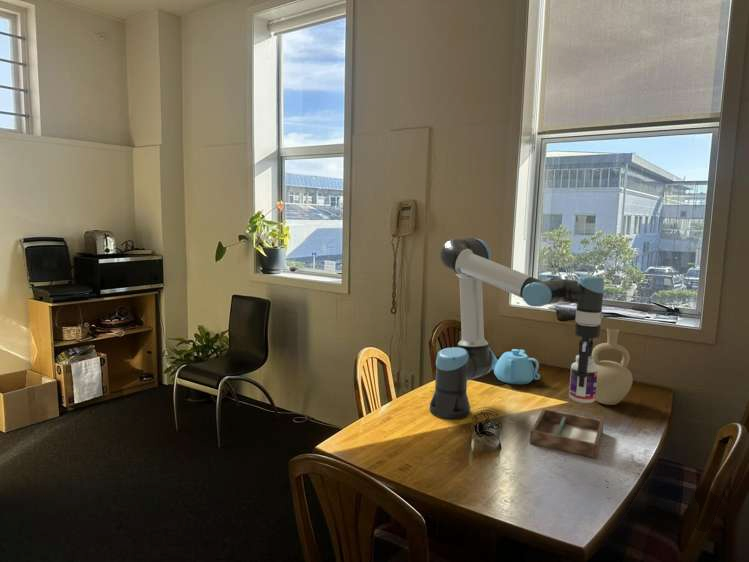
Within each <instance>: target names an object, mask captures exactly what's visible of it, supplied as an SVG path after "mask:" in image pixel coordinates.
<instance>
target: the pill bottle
mask: <svg viewBox="0 0 749 562" xmlns="http://www.w3.org/2000/svg"><path fill="white" fill-rule="evenodd" d="M578 363H579V354H577V355H576V356H575V361H574V362H572V364H571V366H570V379H569V391H568V396H569V398H570V399H571V400H573V401H574V402H576V403H581V404H582V403H583V404H591V403H593V402H596V400H595V397H596V384H597V372H598V368H597V366H596V365H594V364H593V363H594V357H592V355H591V356H589V358H588V367H587V376H586V377H587V383H586V395H585V397H582V396H577V395H576V391H577V378H578V376H575V374H577V373H578ZM581 373H583V372H581Z"/></svg>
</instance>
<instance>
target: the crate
mask: <svg viewBox="0 0 749 562" xmlns="http://www.w3.org/2000/svg"><path fill="white" fill-rule="evenodd" d="M604 422H605V420H603V419H598V418H593V417H587V416H584V415H583V416H582V415H578V414H573V413H568V412H562V411H558V410H554V409H548V408H543V409H542V410H541V412H540V415H539V416H538V417H537V419H536V421H535V423H534V425H532V428H531V429H530V438H529V444H530V445H533V446H537V447H538V446H539V447H542V448H547V449H550V450H551V449H552V450H556V451H560V452H565V453H568V454H572V455H576V456H582V457H585V458H590V459H593V460H594V459H595V460H597V459H598V454H599V451H600V447H601V443H602V442H601V441H602V437H603V434H604V432H603V431H604Z"/></svg>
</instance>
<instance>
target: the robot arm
mask: <svg viewBox="0 0 749 562" xmlns="http://www.w3.org/2000/svg"><path fill="white" fill-rule="evenodd" d="M491 257H492V254H491V250H490V247H489V245H488V244H487V243H486V242H485V241H484V240H482V239H479V238H475V237H473V238H472V237H470V238H452V239H449V240H447V241H446V242H444V243H443V244H442V246H441V248H440V251H439V260H440V262H441V264H442V266H444V268H446V269H447V270H449V271H452V272H454V274H455V276H456V277H458V279H459V280H458V281H459V299H460V300H459V301H460V302H459V303H460V324H461V325H460V326H461V329H460V330H461V340H459V341H458V343H457V347H456V346H452V347H446V348H443V349H441V350H439V351H438V352H437V355H436V358H435V359H436V360H435V379H434V380H435V384H434V392H433V394H432V398H431V400H430V403H429V412H430V414H433V415H434V416H435V417H438V418H442V419H448V420H459V419H465V418H467V417H469V416H470V415H471V404H470V399H469V397H468V394H467V388H468V387H467V386H468V381H471V380H474V379H477V378H481V377H484V376H486V375H487V374H488V373H490V372H491V371H493V369H492V368H493V366H494V362H495V358H494V355H495V354H493V353H494V352H493V351H492V349H491V348H490V347H489V342H488V341H487V339H485V331H484V330H485V326H484V301H483V297H484V295H483V283H486V284H489V285H490V286H494V287H495V288H498V289H500V290H503V291H505V292H508V293H509V294H512V295H514V296H517V297H519V298H521V299H522V300H524V302H525V303H526V304H527V305H528V306H529V307H538V308H539V307H543V306H547V305H551V304H556V303H561V302H562V303H570V304H575V305H576V310H575V320H574V321H575V322H576V323H575V324H574V325H575V326H574V334H575V335H576V336H577V337H581V339H579V343H578V346H579V347H578V349H579V350H578V355H579V363H578V373H577V374H575V376H578V378H577V391H576V395H577V396H582V397H585V395H586V383H587V377H586V376H587V367H588V358H589V356H591V357H592V351H593V348H594V341H593V340H594V339H597V338H600V336H601V325H600V324H601V322H602V319H603V318H604V315H603V314H602V312H603V301H604V293H605V290H604V288H605V287H604V286H605V285H604V283H605V281H604V278H603V277H602V276H599V275H588V274H587V275H586V274H585V275H580V276H579V277H578V279H577V280H571V279H563V278H558V277H546V278H544V279H543V280H540V279H538V278H535V277H532V276H531V275H529V274H526V273H523V272H521V271H518V270H516V269H514V268H513V269H512V268H510V267H508V266H505V265H502V264H500V263H497V262H495V261H493V260H491ZM581 372H583V373H581Z"/></svg>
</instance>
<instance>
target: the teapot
mask: <svg viewBox="0 0 749 562" xmlns="http://www.w3.org/2000/svg"><path fill="white" fill-rule="evenodd" d="M493 354H494V352H493ZM494 358H495V362H494V366H493V368H492V371H493V373H494V375H495V377H496V378H497V379H498V381H500V382H502V383H506V384H508V385H509V384H511V385H527V384H530V383H531V382H532V381H533V380H535V381H537V380H540V378H541V375H540V374H539V373H538V371H539V368H540V367H539V366H540V362H539V361H538V360H537V359H536V358H534V357H529V356H528V355H527V354H526V350H525V349H521V348H520V349H516V348H513V349H511V351H505V352H504V353H502V354H501V356H500V357H499V358H498V359H497V357H496V355H495V354H494ZM532 361H533V362H534V363H535V368H534V365H533V362H532Z"/></svg>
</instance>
